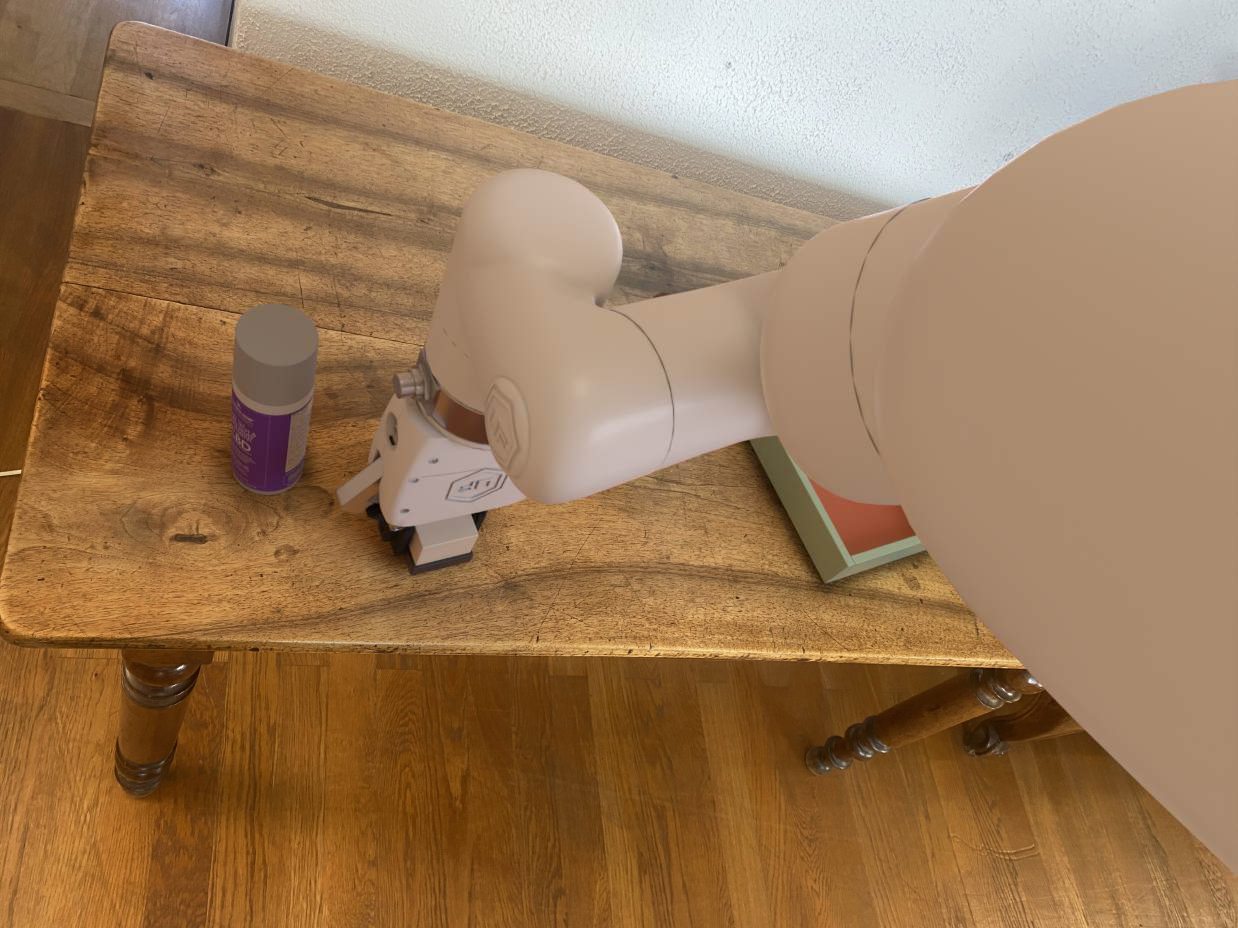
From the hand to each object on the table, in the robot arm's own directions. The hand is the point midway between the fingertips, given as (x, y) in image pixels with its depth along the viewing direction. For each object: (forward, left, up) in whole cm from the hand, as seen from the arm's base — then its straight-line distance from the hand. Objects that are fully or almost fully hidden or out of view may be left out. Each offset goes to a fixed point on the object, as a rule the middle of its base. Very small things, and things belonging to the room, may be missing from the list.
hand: (429, 528), depth 62 cm
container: (+8, +9, -2) cm, 12 cm away
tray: (+1, -38, -1) cm, 38 cm away
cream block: (+2, 0, -1) cm, 2 cm away
